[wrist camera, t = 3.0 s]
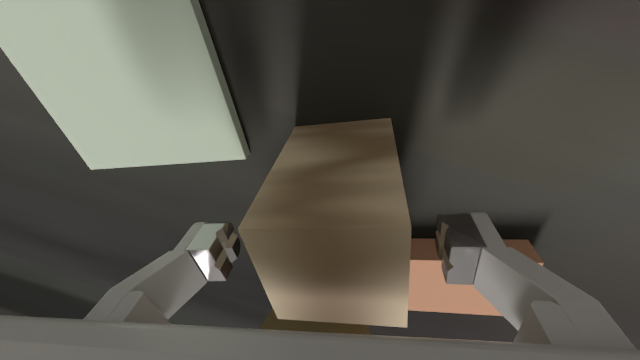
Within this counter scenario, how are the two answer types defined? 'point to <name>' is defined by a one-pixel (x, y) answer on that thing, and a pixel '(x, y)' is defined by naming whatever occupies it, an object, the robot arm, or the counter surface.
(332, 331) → the squeeze bottle
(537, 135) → the counter surface
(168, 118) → the mat
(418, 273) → the terracotta tile
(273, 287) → the maple block
